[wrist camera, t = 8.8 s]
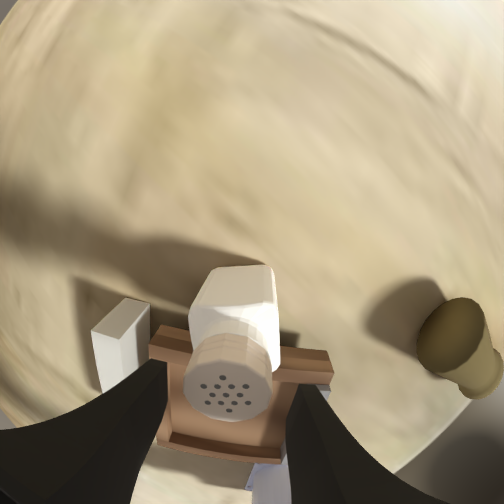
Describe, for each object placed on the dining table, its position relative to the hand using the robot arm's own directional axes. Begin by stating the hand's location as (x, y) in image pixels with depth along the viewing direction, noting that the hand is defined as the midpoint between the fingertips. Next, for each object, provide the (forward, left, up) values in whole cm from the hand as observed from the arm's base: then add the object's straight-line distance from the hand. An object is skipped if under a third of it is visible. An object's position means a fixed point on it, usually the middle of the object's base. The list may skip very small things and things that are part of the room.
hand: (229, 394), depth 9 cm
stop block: (-8, +8, -9) cm, 14 cm away
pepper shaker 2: (0, -15, -6) cm, 16 cm away
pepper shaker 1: (0, 0, -10) cm, 10 cm away
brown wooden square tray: (-8, 0, -9) cm, 12 cm away
